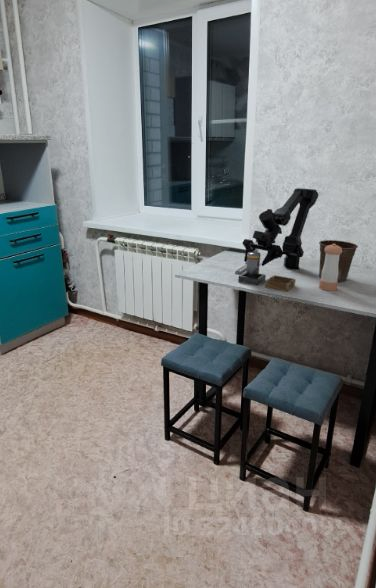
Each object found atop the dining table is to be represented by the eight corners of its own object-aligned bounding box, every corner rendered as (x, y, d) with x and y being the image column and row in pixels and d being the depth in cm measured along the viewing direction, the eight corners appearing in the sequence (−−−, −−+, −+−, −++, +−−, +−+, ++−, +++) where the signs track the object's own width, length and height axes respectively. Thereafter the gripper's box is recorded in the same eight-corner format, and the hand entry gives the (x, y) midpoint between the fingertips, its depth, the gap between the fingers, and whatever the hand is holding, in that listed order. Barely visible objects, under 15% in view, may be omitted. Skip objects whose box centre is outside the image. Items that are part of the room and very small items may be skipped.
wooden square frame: (273, 281, 176) (274, 275, 175) (294, 285, 171) (295, 278, 170) (265, 287, 168) (265, 280, 167) (287, 291, 164) (288, 284, 163)
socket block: (246, 276, 183) (247, 271, 182) (265, 280, 178) (265, 274, 177) (238, 281, 175) (238, 276, 174) (257, 285, 171) (257, 279, 170)
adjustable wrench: (239, 275, 186) (239, 272, 185) (227, 273, 189) (227, 269, 188) (261, 264, 205) (261, 260, 205) (249, 262, 209) (250, 258, 208)
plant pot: (354, 277, 185) (360, 242, 180) (348, 286, 172) (354, 249, 167) (319, 271, 193) (323, 238, 188) (310, 279, 180) (315, 244, 175)
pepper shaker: (315, 287, 169) (321, 243, 163) (323, 284, 174) (330, 241, 168) (331, 292, 164) (338, 246, 158) (339, 288, 169) (346, 243, 163)
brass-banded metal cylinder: (256, 278, 180) (259, 251, 175) (259, 282, 174) (262, 254, 170) (244, 278, 179) (246, 251, 175) (246, 282, 174) (248, 254, 170)
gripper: (246, 221, 178) (229, 248, 175) (282, 226, 166) (264, 256, 162) (255, 236, 186) (239, 263, 182) (290, 243, 174) (273, 271, 170)
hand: (253, 263), depth 174 cm, fingers open, 9 cm apart
